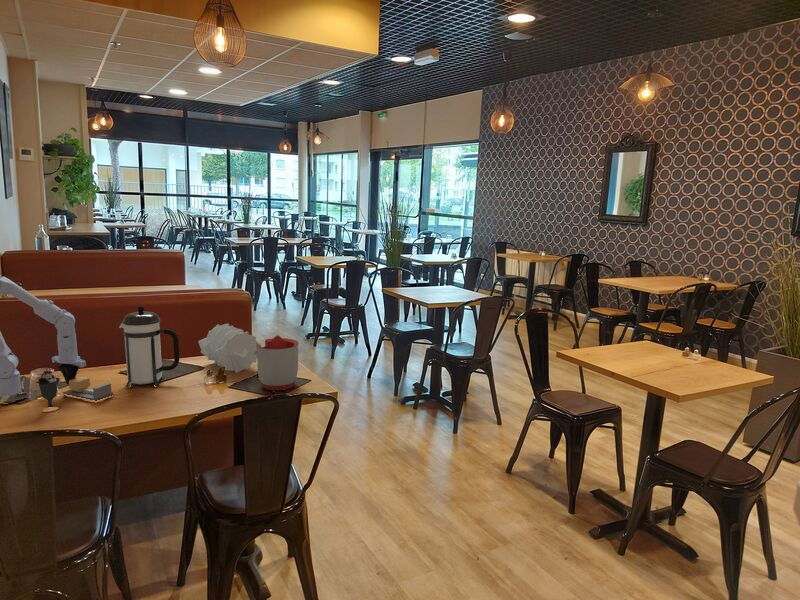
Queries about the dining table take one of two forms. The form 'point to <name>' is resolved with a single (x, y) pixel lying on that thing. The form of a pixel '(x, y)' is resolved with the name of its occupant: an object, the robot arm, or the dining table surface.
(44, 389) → the sundae
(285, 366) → the citrus juicer
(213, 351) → the white ruffled oval piece
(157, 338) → the coffee press
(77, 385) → the sliding carriage
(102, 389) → the track
